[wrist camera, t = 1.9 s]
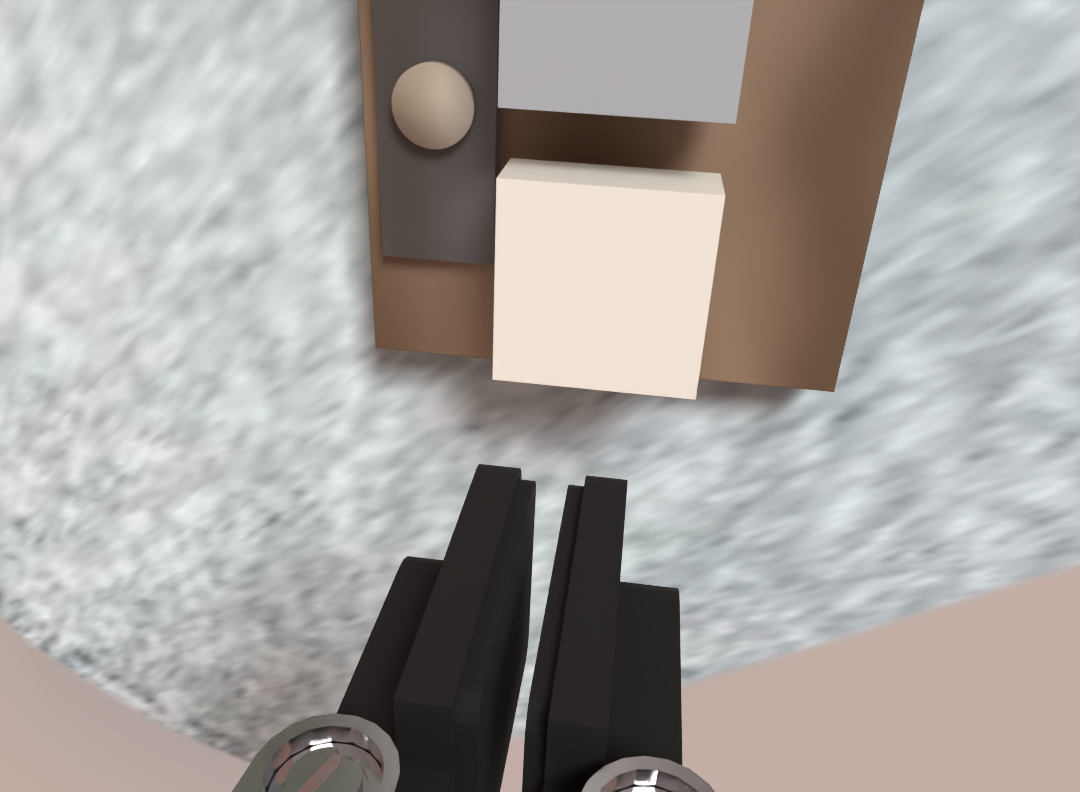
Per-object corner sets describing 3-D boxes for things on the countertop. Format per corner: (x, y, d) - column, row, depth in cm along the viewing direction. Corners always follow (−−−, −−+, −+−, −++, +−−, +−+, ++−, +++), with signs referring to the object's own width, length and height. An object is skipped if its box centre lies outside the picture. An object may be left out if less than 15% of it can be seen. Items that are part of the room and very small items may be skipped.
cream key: (720, 173, 20) (725, 195, 19) (693, 364, 23) (695, 399, 21) (510, 157, 21) (496, 178, 19) (505, 346, 23) (492, 379, 21)
